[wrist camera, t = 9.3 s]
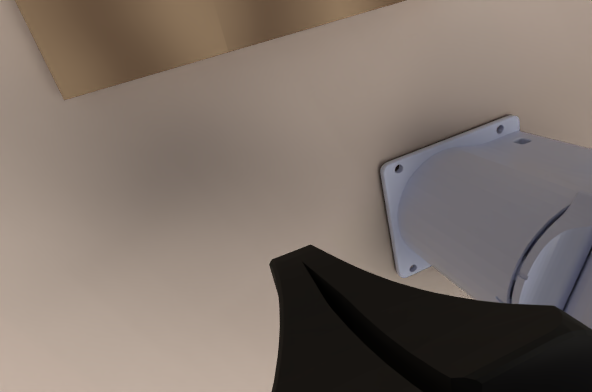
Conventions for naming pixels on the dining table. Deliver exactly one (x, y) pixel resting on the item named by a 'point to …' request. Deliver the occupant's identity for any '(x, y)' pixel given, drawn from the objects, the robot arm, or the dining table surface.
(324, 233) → the dining table surface
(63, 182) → the dining table surface
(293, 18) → the socket board
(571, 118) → the dining table surface
